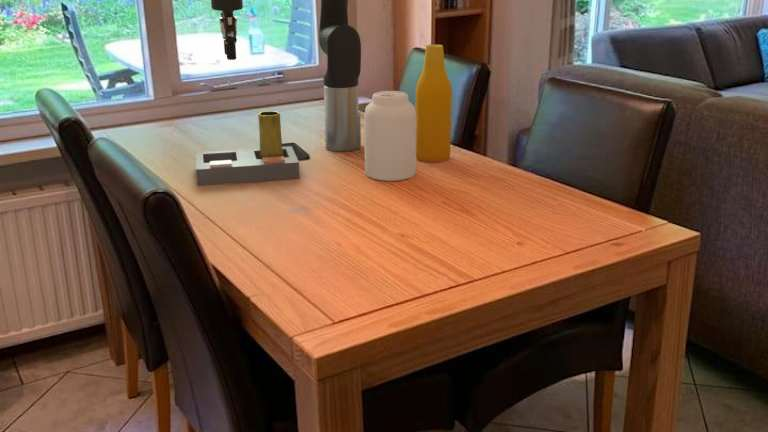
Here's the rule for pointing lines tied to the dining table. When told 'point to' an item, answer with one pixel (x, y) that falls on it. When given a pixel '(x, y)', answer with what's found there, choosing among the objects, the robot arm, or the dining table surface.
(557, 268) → the dining table surface
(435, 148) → the beer bottle
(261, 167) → the socket block
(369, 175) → the white jar
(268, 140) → the vase
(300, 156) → the phone
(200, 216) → the dining table surface
